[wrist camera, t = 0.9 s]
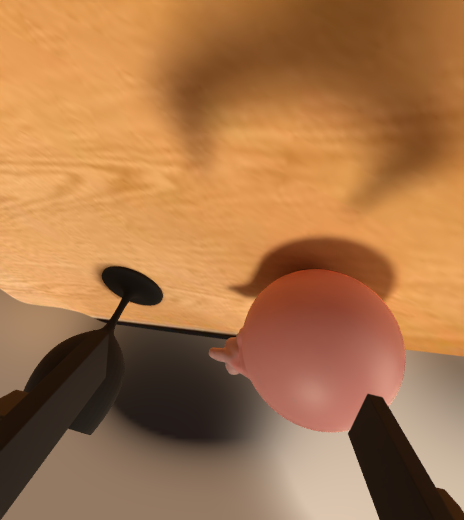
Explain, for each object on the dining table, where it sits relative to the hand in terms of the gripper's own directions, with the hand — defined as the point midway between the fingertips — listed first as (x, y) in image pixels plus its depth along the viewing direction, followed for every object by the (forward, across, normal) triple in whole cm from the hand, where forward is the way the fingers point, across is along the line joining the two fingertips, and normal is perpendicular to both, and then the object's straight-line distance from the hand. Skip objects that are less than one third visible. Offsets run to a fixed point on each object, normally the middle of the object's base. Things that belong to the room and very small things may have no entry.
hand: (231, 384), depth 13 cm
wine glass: (+28, -17, -11) cm, 34 cm away
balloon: (+20, +7, -1) cm, 22 cm away
